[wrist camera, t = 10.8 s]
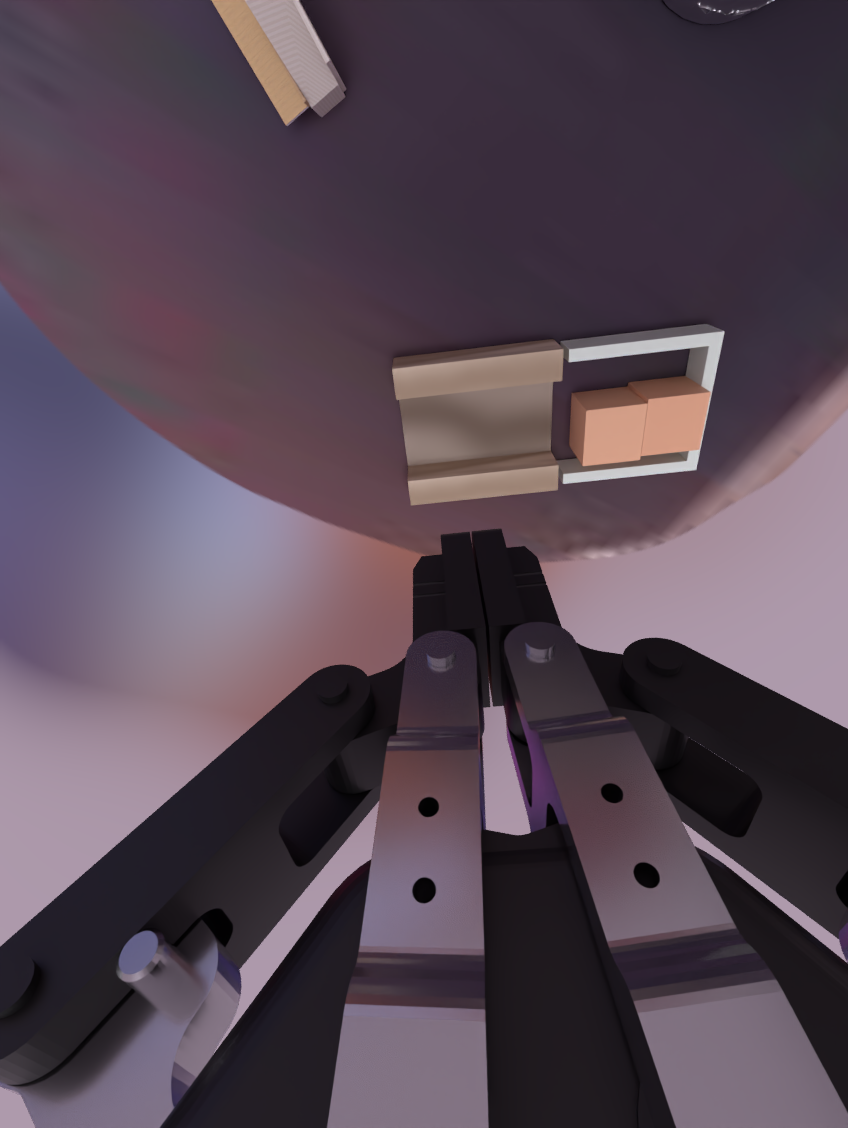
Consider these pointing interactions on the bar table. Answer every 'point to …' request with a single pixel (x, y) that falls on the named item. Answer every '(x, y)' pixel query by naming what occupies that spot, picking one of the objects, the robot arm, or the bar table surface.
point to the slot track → (479, 420)
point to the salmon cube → (672, 414)
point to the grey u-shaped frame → (696, 337)
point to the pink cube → (607, 425)
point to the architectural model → (284, 54)
